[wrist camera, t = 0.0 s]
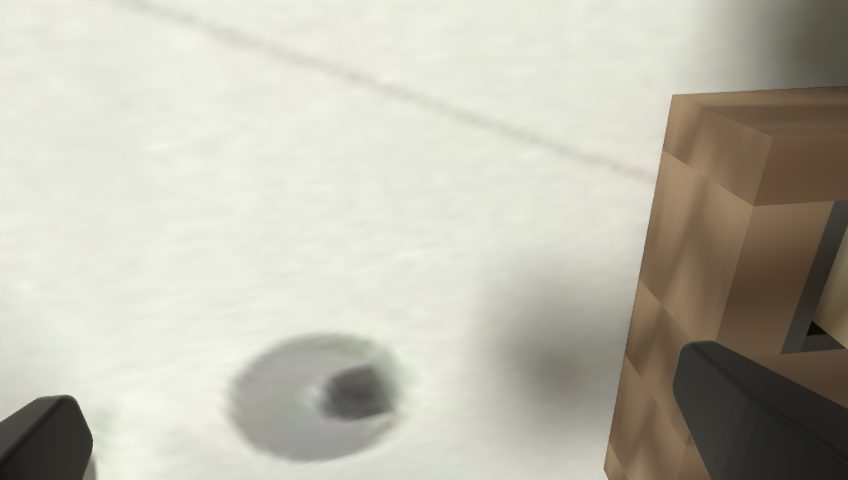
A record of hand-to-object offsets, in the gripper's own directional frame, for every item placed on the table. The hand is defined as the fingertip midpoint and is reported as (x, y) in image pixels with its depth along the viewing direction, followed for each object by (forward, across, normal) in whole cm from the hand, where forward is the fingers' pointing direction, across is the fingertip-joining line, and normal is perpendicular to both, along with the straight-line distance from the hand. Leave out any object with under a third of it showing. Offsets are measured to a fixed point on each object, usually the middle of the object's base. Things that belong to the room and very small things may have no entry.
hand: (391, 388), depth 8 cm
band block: (+15, -18, +10) cm, 25 cm away
